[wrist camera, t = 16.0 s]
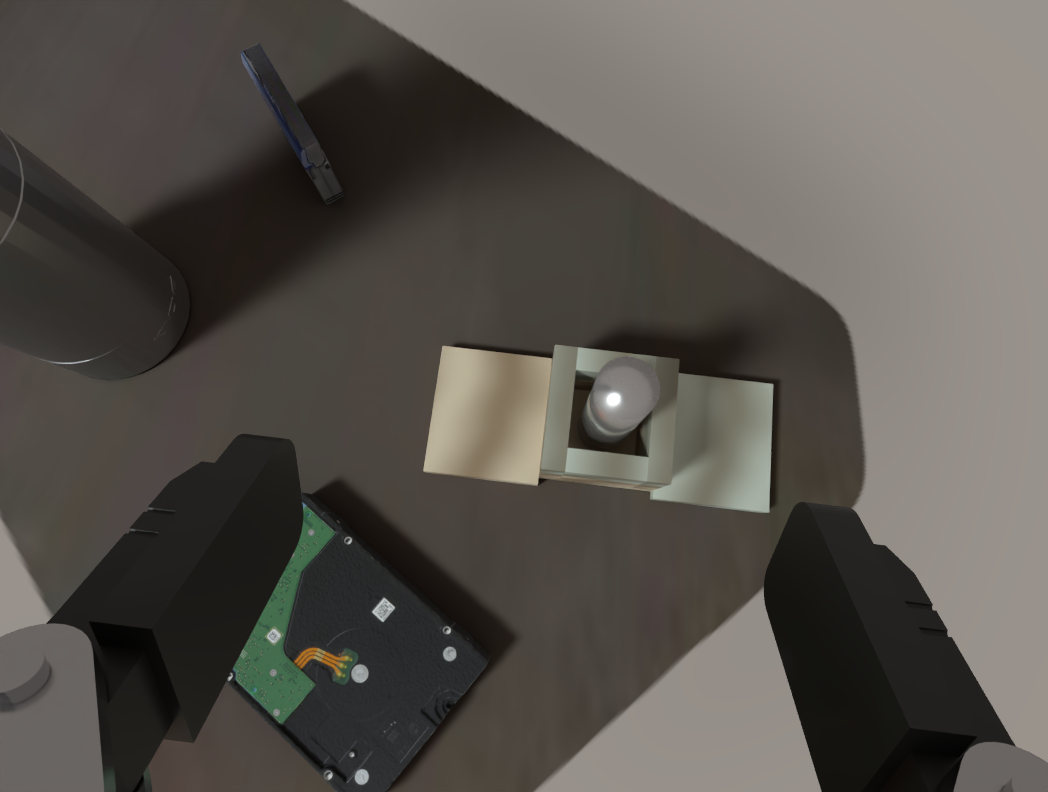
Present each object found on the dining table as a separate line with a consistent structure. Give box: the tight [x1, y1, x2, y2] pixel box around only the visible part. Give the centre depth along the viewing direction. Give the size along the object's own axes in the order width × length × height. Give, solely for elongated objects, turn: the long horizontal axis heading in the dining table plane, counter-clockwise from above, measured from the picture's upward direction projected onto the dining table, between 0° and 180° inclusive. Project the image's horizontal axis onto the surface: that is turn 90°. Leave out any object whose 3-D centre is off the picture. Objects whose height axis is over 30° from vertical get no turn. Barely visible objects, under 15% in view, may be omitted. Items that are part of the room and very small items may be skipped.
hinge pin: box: [578, 356, 660, 452], centre depth 34 cm, size 3×3×10 cm
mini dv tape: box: [241, 43, 345, 205], centre depth 41 cm, size 8×2×6 cm, turn 31°
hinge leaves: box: [423, 345, 773, 513], centre depth 37 cm, size 21×8×6 cm, turn 83°
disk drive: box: [226, 492, 490, 792], centre depth 36 cm, size 10×3×15 cm
